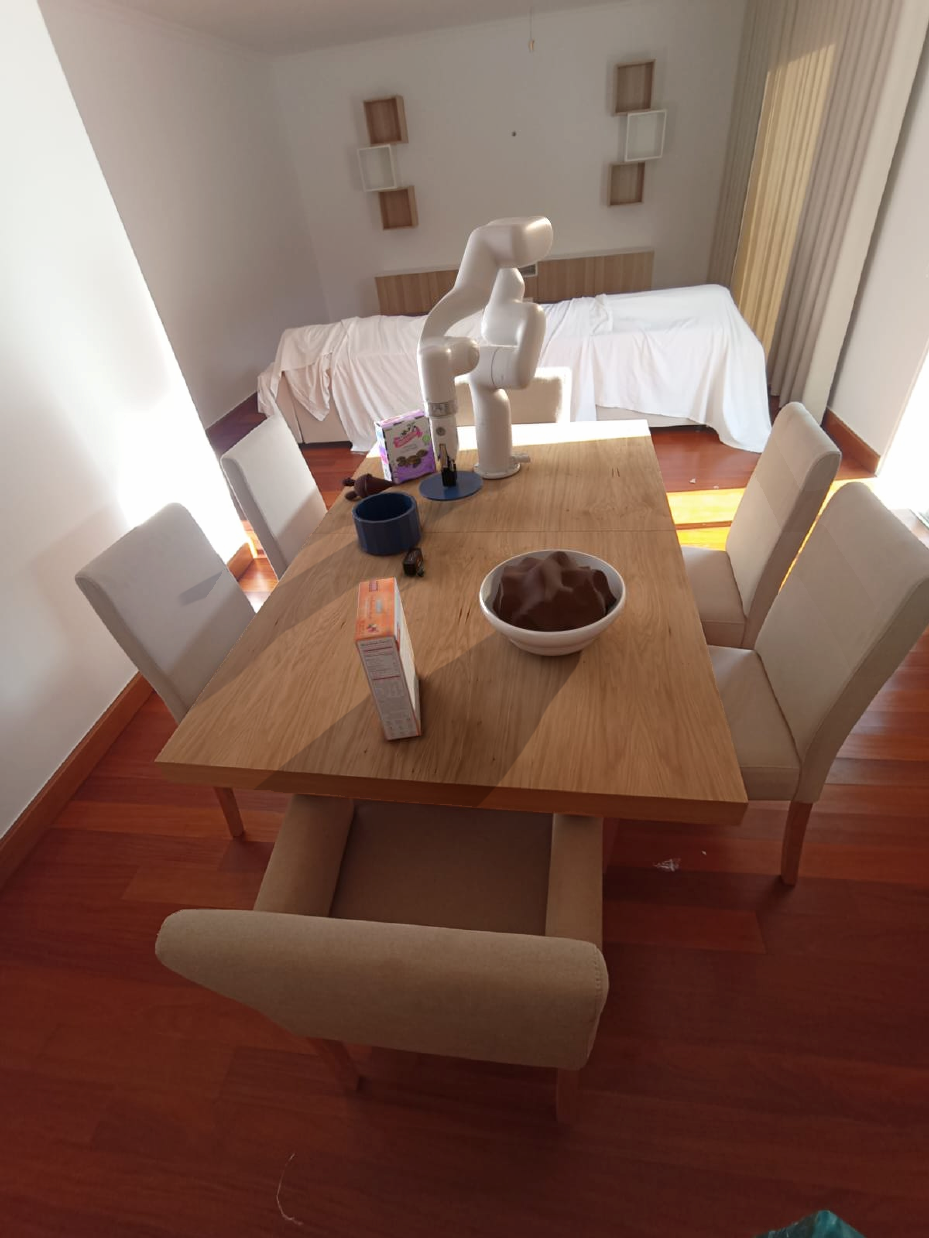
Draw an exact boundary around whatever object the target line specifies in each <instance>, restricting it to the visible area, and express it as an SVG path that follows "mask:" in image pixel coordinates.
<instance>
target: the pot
mask: <svg viewBox="0 0 929 1238" xmlns="http://www.w3.org/2000/svg"><path fill="white" fill-rule="evenodd" d="M351 516H352V520H353V523H354V526H355V532H356V535H357V538H358V543H359V546H360V548H361V549H362V550H363V552H364V553H367V554H369V555H373V556H380V557H383V556H385V557H386V556H394V555H399V554H401V553H404V552H408V550H409V549H410V548H415V546H417V545H418V544H419V542H420V541H421V539H422V536H423V535H422V533H423V530H422V525H421V520H420V513H419V508H418V502H417V500H416V498H415V497H414V496H413V495H411V494H409V493H407V492H404V491H402V492H401V491H382V492H380V493H378V494H374V495H371V496H369V497H367V498H364V499H363V498H361V499H360V500H359V501H358V502H356V504H355V505H353V508H352V510H351Z"/></svg>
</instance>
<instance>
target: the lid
mask: <svg viewBox="0 0 929 1238" xmlns="http://www.w3.org/2000/svg"><path fill="white" fill-rule="evenodd" d="M452 462H453V461H452ZM447 463H449V464H450V461H447ZM453 469H454V463H453ZM483 485H484V481H483V478H482V477H480V476H479V475H477V474H475V473H474V471H473V472H472V471H469V470H457V480H456V486H449V487H444V486H443V482H442V475H441V472H438V473H436V474H433V475H430V476H428V477H426V478H425V479H423V480H422V481H421V482H420V483H419V485H418V492H419V494H420V495H421V496H422V497H423V498H424V499H427V500H430V501H434V502H454V501H459V500H464V499H466V498H469V497H472V496H473V495H475V494H477V493H478V492H479V491H480V490H481V489H482V488H483Z"/></svg>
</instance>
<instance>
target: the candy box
mask: <svg viewBox="0 0 929 1238" xmlns="http://www.w3.org/2000/svg"><path fill="white" fill-rule="evenodd" d="M373 426H374V430H375V436H376V441H377V446H378V447H377V448H378V450H379V456H380V461H381V467H382V471H383V477H384V480H388V481H392V482H396V485H395V486H397V485H400V484H403V483H406V482H408V481H412V480H415V479H418V478H420V477H423V476H426V475H430V474H433V473H435V472H437V463H436V457H435V452H434V445H433V438H432V430H431V422H430V418H427V417H426V416H425V412H424V410H421V409H420V408H419V409H418V408H417V409H416V410H413V411H409V412H405V413H403V414H399V415H396V416H391V417H388V418H385V419H381V420H378V421H374V422H373Z"/></svg>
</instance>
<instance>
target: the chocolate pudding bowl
mask: <svg viewBox="0 0 929 1238" xmlns="http://www.w3.org/2000/svg"><path fill="white" fill-rule="evenodd" d="M478 600H479V601H478V602H479V606H480V609H481V612H482V614H483V615H484V617H485V619H486V620H487V621H488V622H489V623H490V624H491V626H492V627H493V628H495V629H496V630H497V631H498V632H500V633H501V634H502V635H503V636H505V637H506V638H507V640H508V641H509V642H510V643H511V644H513V645H514V646H515V647H517V648H518V649H519V650H522V651H524V652H527V653H531V654H533V655H539V656H546V657H551V656H552V657H558V656H564V655H565V656H566V655H569V654H574V653H577V652H579V651H581V650H583V649H586V648H587V647H589V646H590V645H592V644H593V643H594V642H595V641H596V640H597V639H598V637H600V635H601V634H602V633H603V632H605V631H606V630H607V629H608V628H609V627H611V626H612V625H613V624H614V623H615V622H616V620H617V619H618V618H619V616H620V615H621V613H622V612H623V610H624V607H625V605H626V600H627V587H626V584H625V582H624V579H623V577H622V576H621V574H620V572H619V571H618V570H616V568H615V567H613V566H612V565H611V564H609V563H608V562H606V561H605V560H603V559H601V558H599V557H597V556H594V555H591V554H589V553H585V552H581V551H577V550H569V549H543V550H542V549H541V550H535V551H530V552H525V553H521V554H518V555H516V556H513V557H510V558H508V559H507V560H505V561H503V562H501V563H500V564H499V563H498V565H496V566H495V567H494V568H493V569H491V570H490V571H489V573H488V574H487V575H486V576H485V578H484V579H483V581H482V583H481V585H480V588H479V591H478Z"/></svg>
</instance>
